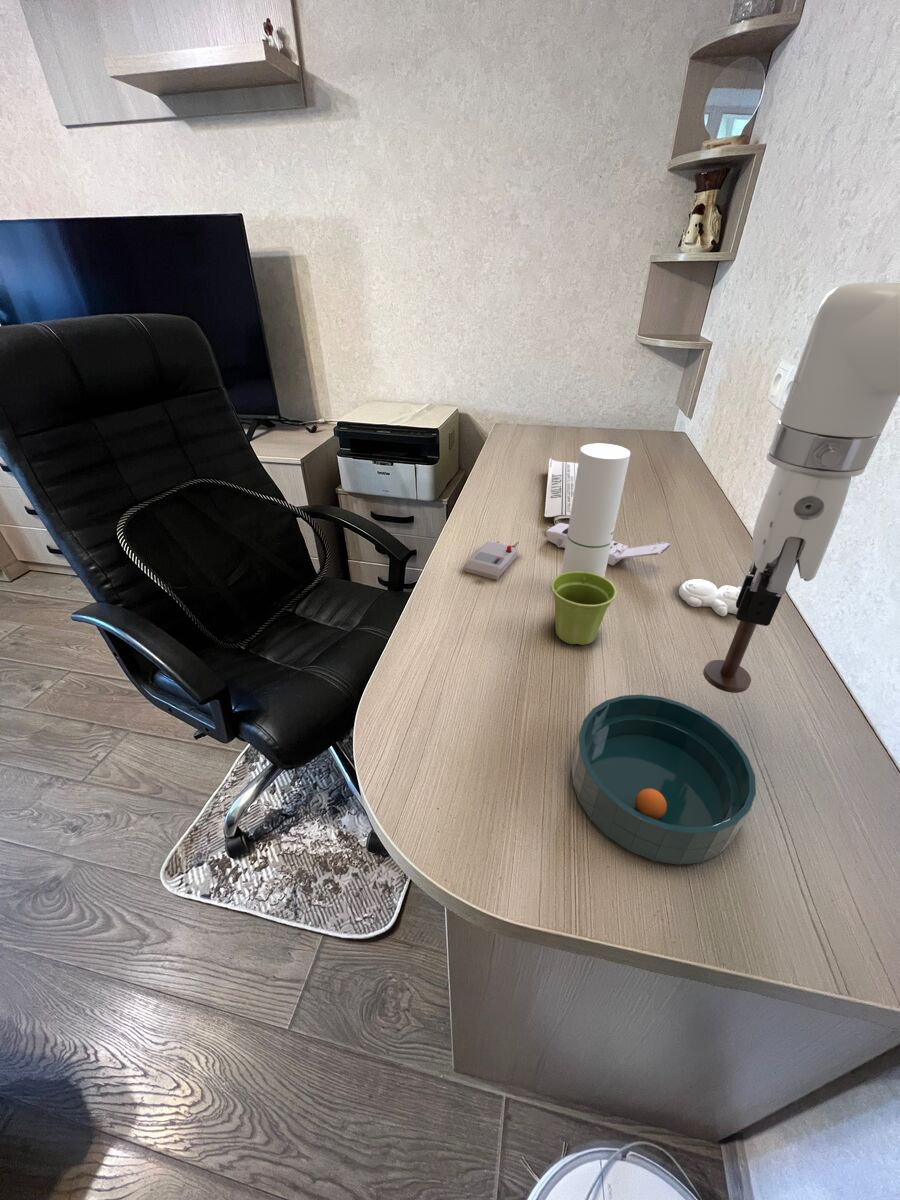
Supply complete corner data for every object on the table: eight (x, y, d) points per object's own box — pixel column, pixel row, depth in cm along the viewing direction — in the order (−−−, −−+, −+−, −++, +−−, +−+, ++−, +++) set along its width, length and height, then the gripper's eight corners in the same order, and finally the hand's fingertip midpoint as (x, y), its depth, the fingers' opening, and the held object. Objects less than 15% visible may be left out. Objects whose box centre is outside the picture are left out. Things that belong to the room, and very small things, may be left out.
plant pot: (532, 631, 79) (537, 585, 74) (570, 608, 84) (578, 564, 79) (580, 661, 73) (589, 613, 68) (618, 635, 78) (629, 589, 73)
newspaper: (602, 530, 108) (605, 515, 106) (543, 526, 109) (545, 511, 107) (588, 472, 136) (590, 459, 134) (542, 469, 138) (543, 457, 136)
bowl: (735, 758, 59) (752, 723, 56) (736, 898, 46) (759, 864, 43) (588, 711, 65) (596, 677, 61) (554, 824, 52) (561, 789, 49)
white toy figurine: (747, 626, 80) (754, 611, 78) (672, 599, 86) (676, 585, 84) (759, 602, 86) (766, 587, 84) (687, 578, 92) (692, 564, 90)
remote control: (459, 576, 92) (460, 561, 90) (494, 540, 103) (494, 527, 102) (493, 585, 90) (493, 570, 88) (524, 548, 101) (525, 534, 99)
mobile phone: (659, 553, 87) (538, 512, 100) (651, 582, 90) (534, 539, 104) (672, 542, 91) (553, 504, 104) (664, 570, 94) (549, 529, 108)
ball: (664, 806, 53) (671, 789, 51) (661, 830, 51) (668, 813, 49) (634, 795, 54) (641, 778, 52) (630, 818, 52) (637, 801, 50)
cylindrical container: (605, 588, 89) (636, 448, 75) (592, 608, 84) (622, 462, 70) (567, 577, 92) (589, 440, 78) (552, 595, 87) (573, 453, 73)
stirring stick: (748, 671, 61) (794, 565, 53) (749, 698, 57) (799, 589, 49) (703, 660, 63) (741, 556, 54) (702, 685, 59) (742, 578, 51)
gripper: (893, 482, 37) (798, 669, 47) (853, 429, 49) (784, 588, 59) (778, 469, 40) (712, 648, 50) (766, 421, 52) (715, 574, 62)
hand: (751, 614), depth 55 cm, fingers closed on stirring stick
